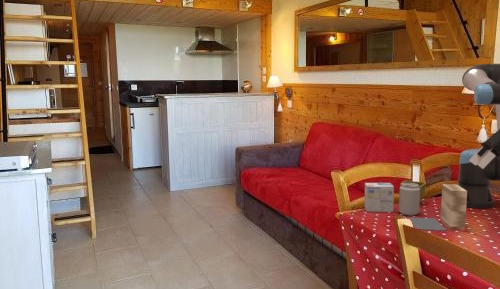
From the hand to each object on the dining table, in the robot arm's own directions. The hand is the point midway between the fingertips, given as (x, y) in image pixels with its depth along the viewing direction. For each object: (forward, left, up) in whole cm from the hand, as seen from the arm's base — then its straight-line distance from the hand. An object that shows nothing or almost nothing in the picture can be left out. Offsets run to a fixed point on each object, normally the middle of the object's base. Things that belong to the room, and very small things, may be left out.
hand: (476, 164), depth 146 cm
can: (+20, -9, -22) cm, 31 cm away
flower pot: (+15, -24, -22) cm, 36 cm away
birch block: (+8, +4, -22) cm, 23 cm away
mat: (+19, +4, -22) cm, 29 cm away
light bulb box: (+31, -13, -22) cm, 40 cm away
